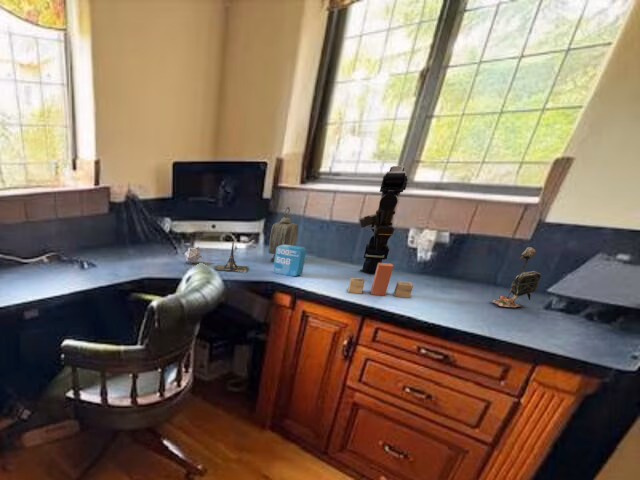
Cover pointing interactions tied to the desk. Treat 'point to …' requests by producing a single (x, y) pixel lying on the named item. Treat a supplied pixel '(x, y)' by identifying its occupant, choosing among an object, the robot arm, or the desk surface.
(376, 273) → the orange rectangular block
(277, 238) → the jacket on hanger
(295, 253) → the data package
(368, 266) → the robot arm
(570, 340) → the desk surface
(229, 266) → the eiffel tower figurine
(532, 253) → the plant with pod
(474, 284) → the desk surface
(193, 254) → the game die
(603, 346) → the desk surface
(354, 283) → the maple cube
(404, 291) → the maple cube
